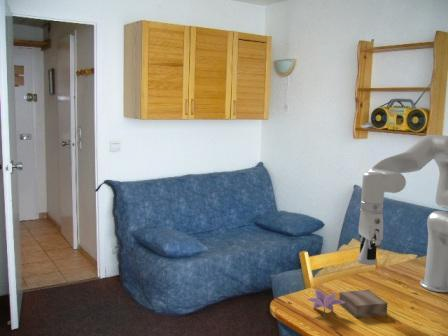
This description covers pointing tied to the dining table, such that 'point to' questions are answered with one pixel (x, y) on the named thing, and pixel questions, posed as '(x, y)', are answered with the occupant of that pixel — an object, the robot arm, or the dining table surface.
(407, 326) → the dining table surface
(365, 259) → the flask
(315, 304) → the lily
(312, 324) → the dining table surface
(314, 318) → the dining table surface
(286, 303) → the dining table surface
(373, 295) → the walnut block
